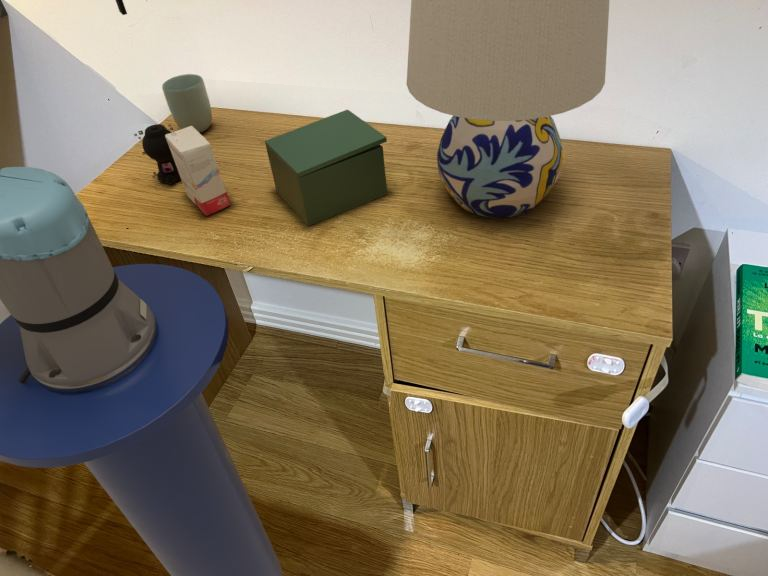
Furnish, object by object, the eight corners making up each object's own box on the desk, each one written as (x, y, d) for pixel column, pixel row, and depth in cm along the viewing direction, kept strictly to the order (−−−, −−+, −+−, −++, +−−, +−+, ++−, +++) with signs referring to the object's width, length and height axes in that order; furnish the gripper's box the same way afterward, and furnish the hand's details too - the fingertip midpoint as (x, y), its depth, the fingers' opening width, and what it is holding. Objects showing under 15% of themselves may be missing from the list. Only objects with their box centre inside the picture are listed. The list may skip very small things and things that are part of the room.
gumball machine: (151, 189, 105) (131, 138, 98) (153, 173, 109) (134, 123, 103) (189, 182, 106) (172, 131, 99) (190, 166, 110) (173, 116, 103)
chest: (350, 163, 106) (344, 118, 100) (387, 194, 98) (382, 146, 92) (276, 191, 101) (265, 145, 95) (308, 226, 93) (298, 178, 87)
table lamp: (440, 143, 109) (436, -117, 82) (593, 160, 100) (644, -123, 74) (388, 228, 91) (361, -70, 64) (570, 258, 82) (627, -72, 55)
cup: (223, 123, 123) (210, 75, 116) (200, 140, 118) (185, 92, 111) (193, 118, 125) (179, 72, 119) (170, 135, 120) (153, 88, 114)
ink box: (232, 206, 99) (213, 142, 91) (203, 218, 97) (181, 154, 89) (212, 185, 104) (192, 123, 96) (185, 196, 102) (163, 133, 95)
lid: (348, 113, 100) (347, 109, 100) (387, 141, 92) (386, 136, 91) (265, 145, 95) (264, 140, 95) (298, 177, 87) (297, 173, 86)
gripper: (178, -158, 97) (214, -15, 112) (25, -135, 89) (85, 15, 104) (192, -156, 92) (227, -7, 107) (31, -132, 84) (93, 26, 99)
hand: (157, 4), depth 105 cm, fingers open, 12 cm apart
